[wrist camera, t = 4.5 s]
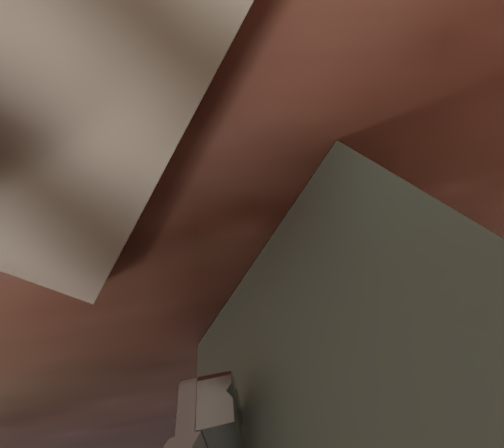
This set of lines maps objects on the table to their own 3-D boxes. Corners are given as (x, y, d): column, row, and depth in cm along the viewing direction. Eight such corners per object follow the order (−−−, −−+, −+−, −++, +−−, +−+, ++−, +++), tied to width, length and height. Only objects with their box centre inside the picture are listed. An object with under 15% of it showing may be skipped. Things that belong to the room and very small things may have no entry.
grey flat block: (394, 178, 13) (772, 408, 5) (251, 363, 17) (304, 704, 8) (336, 139, 13) (668, 336, 4) (197, 345, 16) (188, 709, 7)
